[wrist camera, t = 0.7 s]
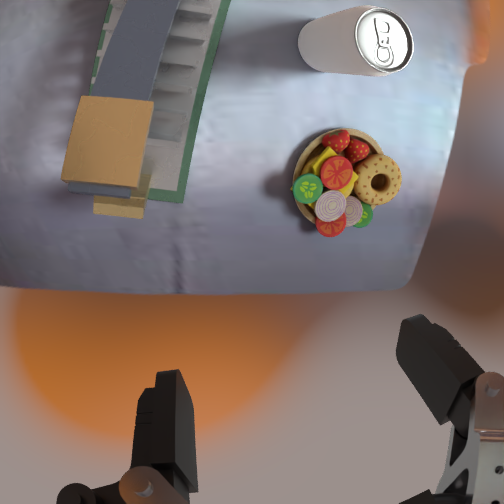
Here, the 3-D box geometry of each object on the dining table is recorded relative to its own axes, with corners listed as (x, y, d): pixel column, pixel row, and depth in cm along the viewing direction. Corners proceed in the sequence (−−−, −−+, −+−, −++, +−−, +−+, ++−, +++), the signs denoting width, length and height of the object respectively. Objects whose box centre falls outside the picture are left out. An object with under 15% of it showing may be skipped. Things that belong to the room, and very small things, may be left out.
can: (298, 72, 30) (351, 75, 20) (294, 17, 26) (346, -4, 16) (351, 73, 31) (418, 81, 21) (348, 21, 27) (415, 10, 17)
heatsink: (124, -37, 19) (106, -69, 12) (237, -23, 23) (256, -53, 15) (81, 189, 32) (54, 225, 24) (182, 201, 35) (183, 240, 28)
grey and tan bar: (149, -40, 17) (151, -56, 15) (200, -35, 18) (204, -50, 16) (68, 193, 16) (58, 188, 14) (137, 201, 18) (135, 196, 16)
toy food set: (399, 173, 39) (413, 181, 36) (337, 243, 43) (347, 256, 40) (338, 104, 33) (351, 108, 30) (265, 188, 37) (272, 199, 34)
